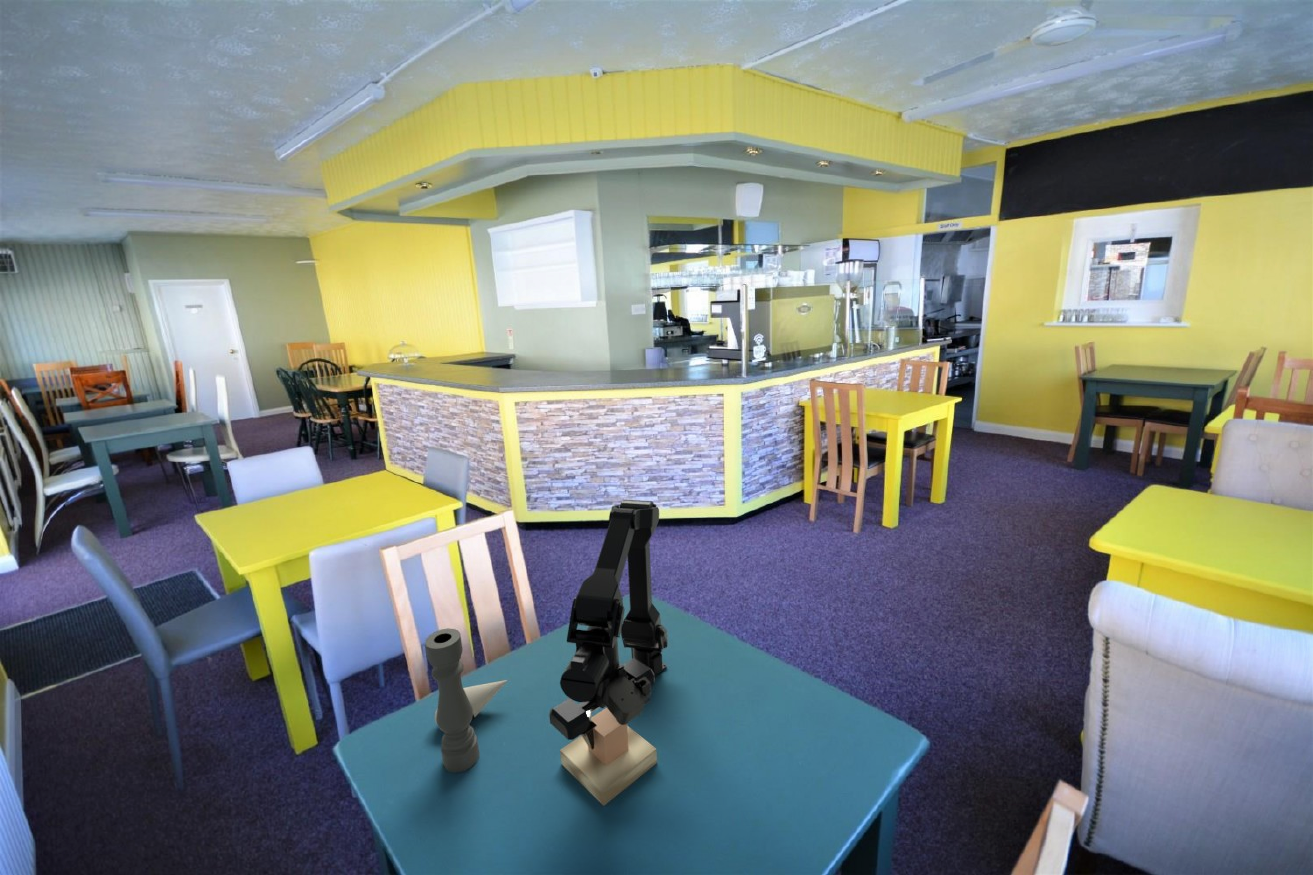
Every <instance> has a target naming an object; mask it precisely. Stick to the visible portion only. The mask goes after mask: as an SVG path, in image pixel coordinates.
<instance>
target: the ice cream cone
mask: <svg viewBox="0 0 1313 875" xmlns="http://www.w3.org/2000/svg"><path fill="white" fill-rule="evenodd" d="M508 681H509V679H506V680H499V681H494V682H489V683H484V684H476V685H471V686H467V687H463V689H464V691H465V693H466V695H467V697H468V700H469V702H470V704H471V706H472V708H473V716H472V717H473V718H476V717H477V716H478V715H479V713H480V712H481V711H482V710H483V709H484V708H485V707H486V706H487V704H488V703H489V702H490V701H491V700H492V699H493V698H494V697H495V695H496V694H498V692H499V691H500V690H501V689H502V688H503V687H504V685H505V684H506V683H508ZM437 709H438V707H437V708H436V710H435V712H434V721H435V724H436V725H437V726H438V724H437V721H436V717H437Z"/></svg>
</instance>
